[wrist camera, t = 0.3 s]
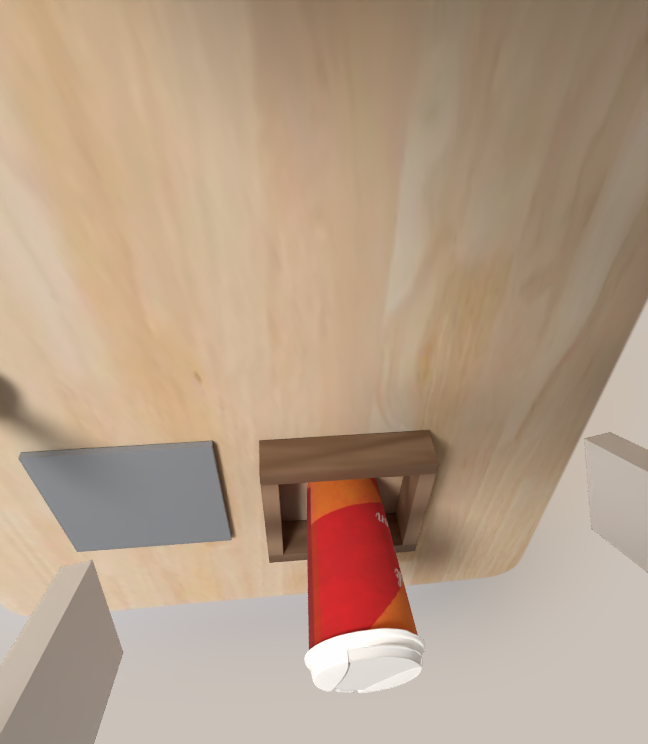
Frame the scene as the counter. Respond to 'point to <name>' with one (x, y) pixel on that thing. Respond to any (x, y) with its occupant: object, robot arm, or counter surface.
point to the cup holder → (347, 462)
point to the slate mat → (133, 494)
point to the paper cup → (356, 593)
